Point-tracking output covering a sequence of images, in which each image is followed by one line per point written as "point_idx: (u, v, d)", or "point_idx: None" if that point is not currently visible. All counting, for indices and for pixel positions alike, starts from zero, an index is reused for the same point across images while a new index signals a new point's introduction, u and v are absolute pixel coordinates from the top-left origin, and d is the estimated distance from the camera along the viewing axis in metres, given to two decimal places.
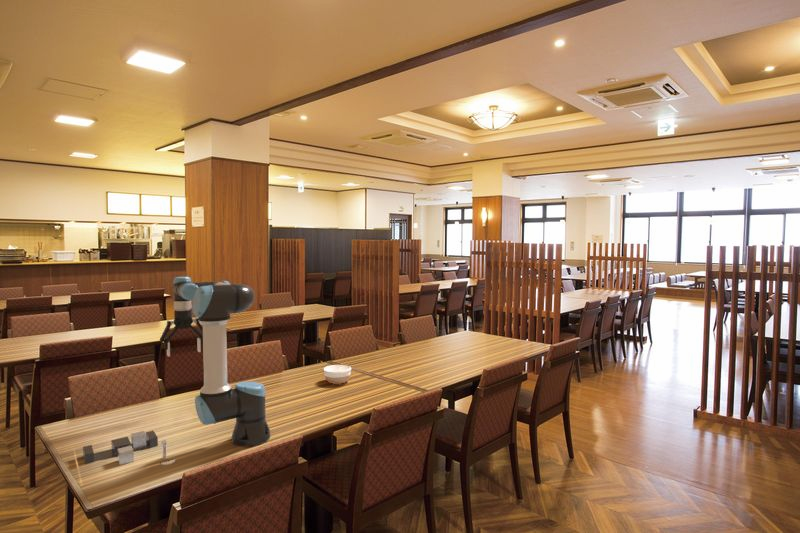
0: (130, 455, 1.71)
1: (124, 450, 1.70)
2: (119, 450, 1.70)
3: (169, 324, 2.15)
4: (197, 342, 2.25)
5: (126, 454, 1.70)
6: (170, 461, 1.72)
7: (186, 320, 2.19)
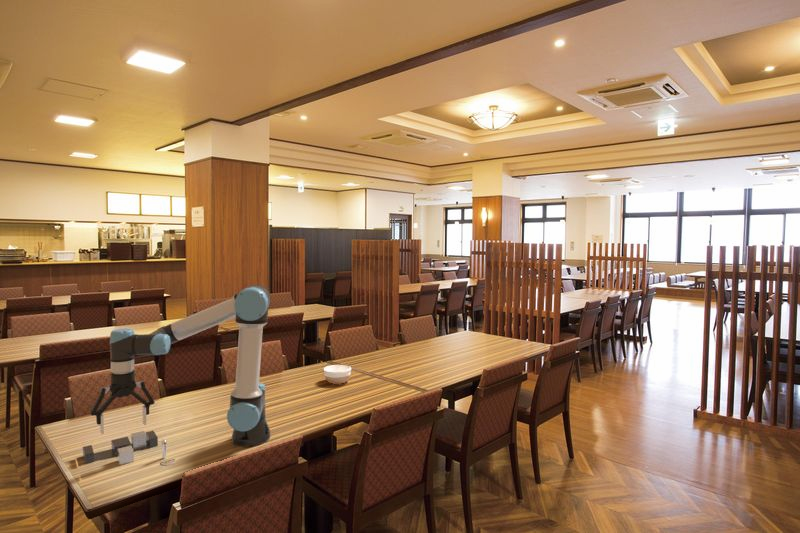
0: (130, 455, 1.71)
1: (124, 450, 1.70)
2: (119, 450, 1.70)
3: (103, 392, 1.65)
4: None
5: (126, 454, 1.70)
6: (170, 461, 1.72)
7: (127, 385, 1.70)
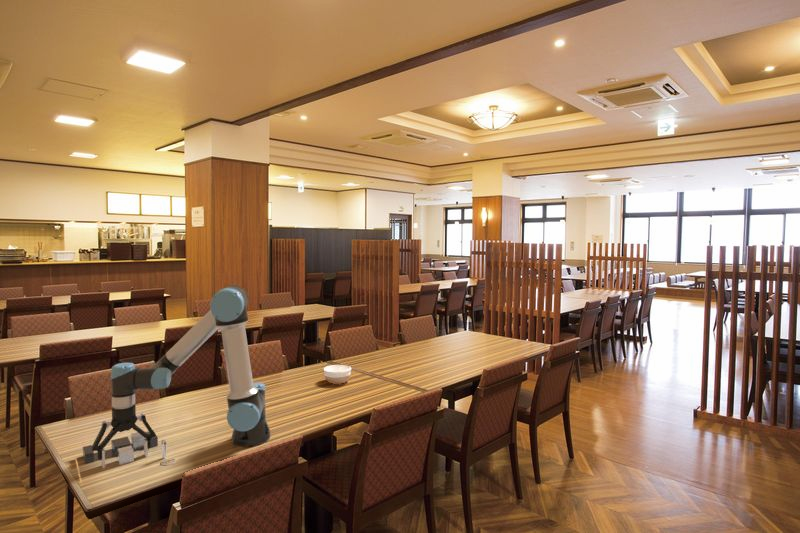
0: (130, 455, 1.71)
1: (124, 450, 1.70)
2: (119, 450, 1.70)
3: (104, 427, 1.66)
4: (144, 444, 1.76)
5: (126, 454, 1.70)
6: (170, 461, 1.72)
7: (128, 419, 1.71)
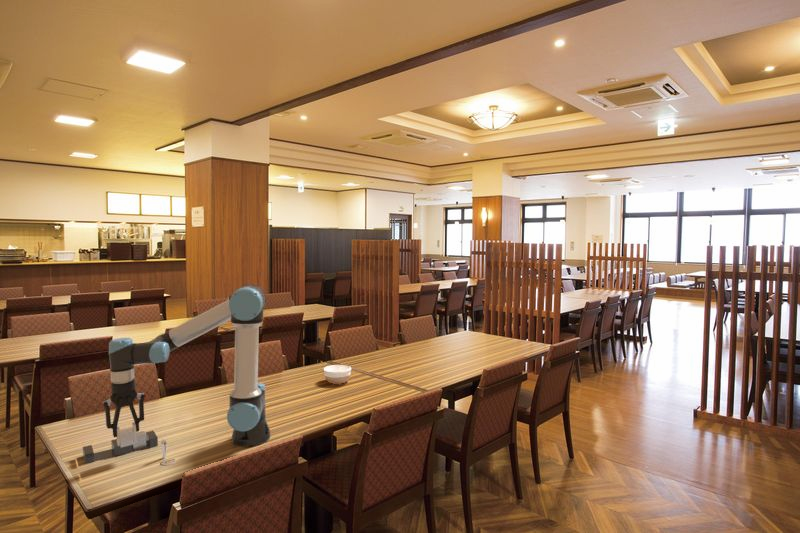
0: (131, 436, 1.70)
1: (125, 432, 1.70)
2: (120, 431, 1.70)
3: (106, 405, 1.66)
4: None
5: (127, 435, 1.70)
6: (170, 461, 1.72)
7: (129, 392, 1.70)
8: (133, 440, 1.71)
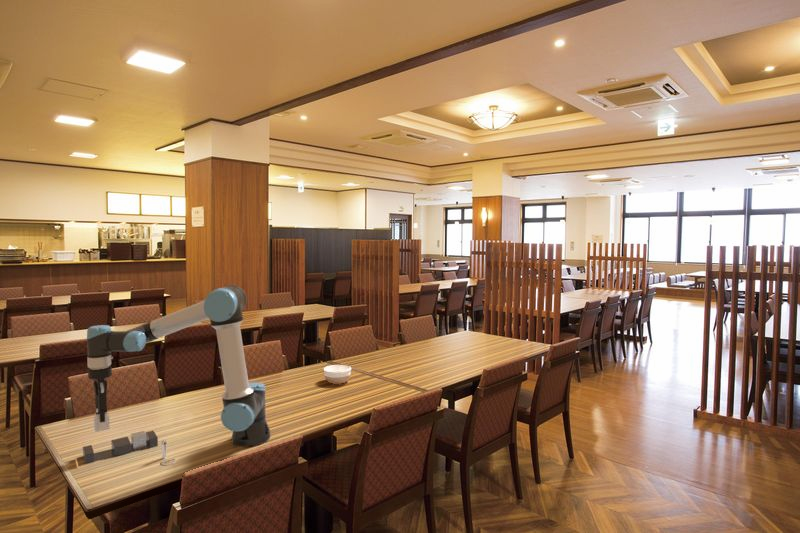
0: (94, 422, 1.73)
1: (96, 416, 1.75)
2: None
3: None
4: None
5: (94, 420, 1.74)
6: (170, 461, 1.72)
7: (97, 380, 1.72)
8: (95, 427, 1.73)
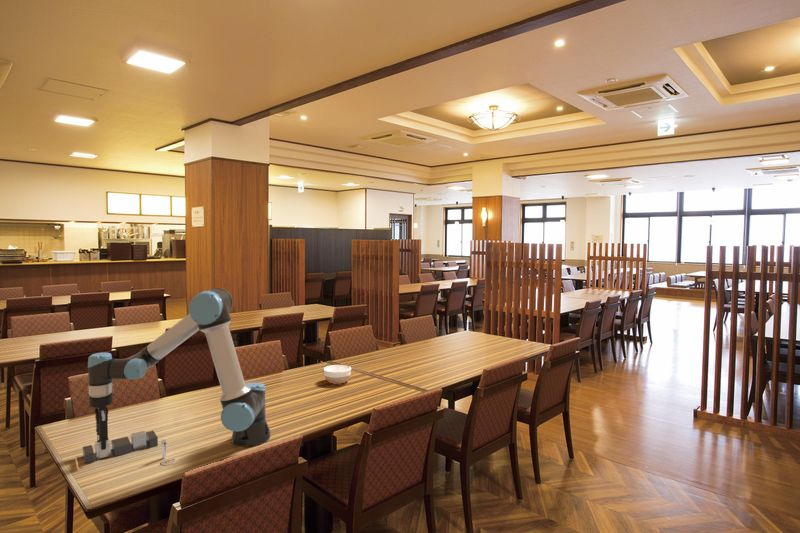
0: (96, 449, 1.74)
1: (98, 442, 1.75)
2: None
3: None
4: None
5: (95, 447, 1.74)
6: (170, 461, 1.72)
7: (98, 407, 1.73)
8: (96, 454, 1.73)
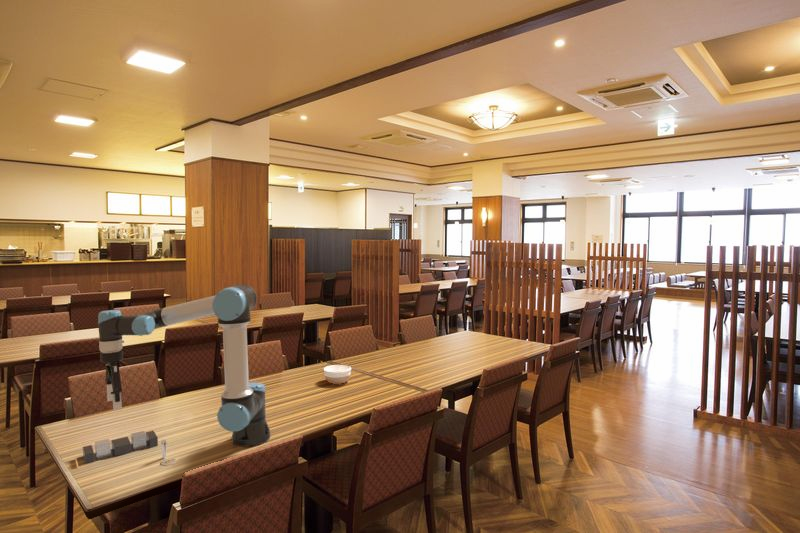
0: (96, 449, 1.74)
1: (98, 442, 1.75)
2: (102, 440, 1.77)
3: (106, 364, 1.82)
4: None
5: (95, 447, 1.74)
6: (170, 461, 1.72)
7: (109, 365, 1.76)
8: (96, 454, 1.73)
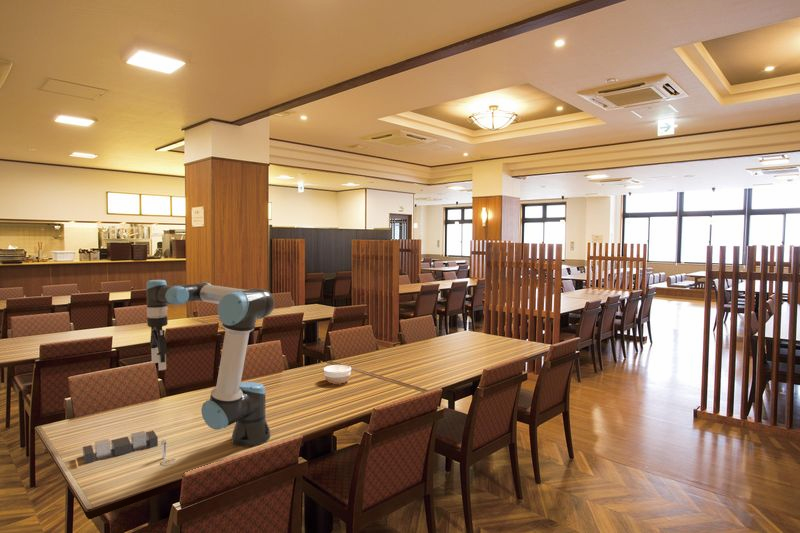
0: (96, 449, 1.74)
1: (98, 442, 1.75)
2: (102, 440, 1.77)
3: (151, 329, 2.00)
4: None
5: (95, 447, 1.74)
6: (170, 461, 1.72)
7: (155, 329, 1.94)
8: (96, 454, 1.73)
